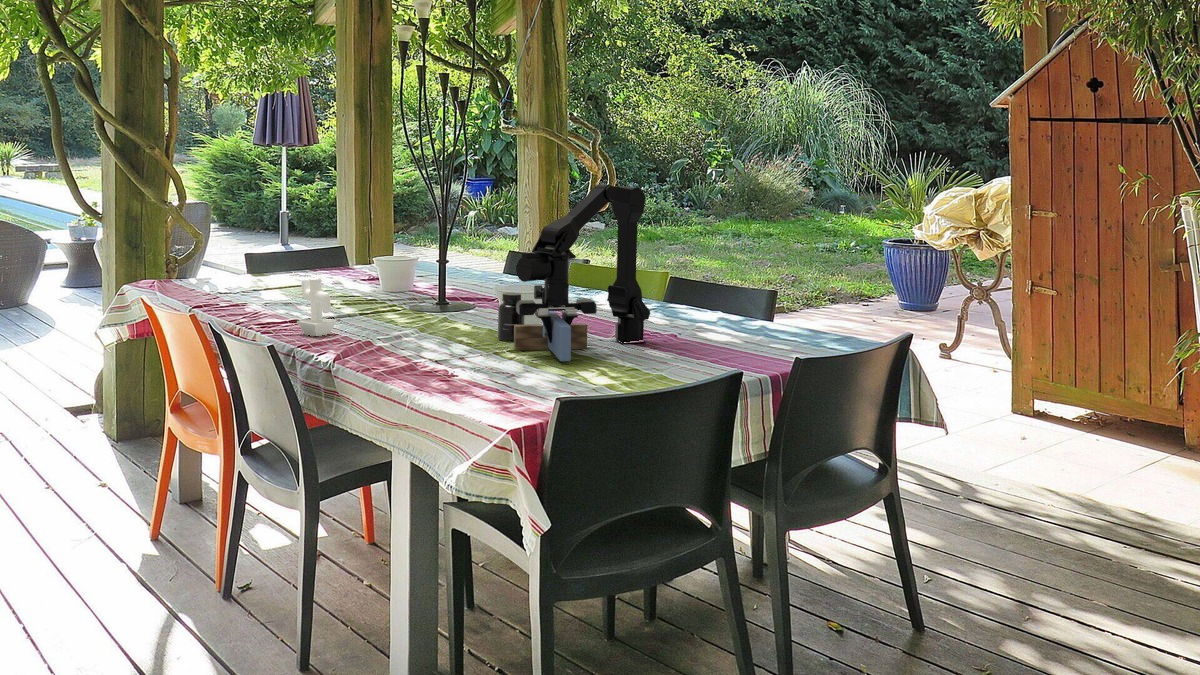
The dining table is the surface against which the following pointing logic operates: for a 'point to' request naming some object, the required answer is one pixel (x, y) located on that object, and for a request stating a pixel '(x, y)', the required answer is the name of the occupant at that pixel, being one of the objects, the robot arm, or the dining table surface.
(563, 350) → the slate blue tapered plate
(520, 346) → the walnut slotted board
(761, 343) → the dining table surface
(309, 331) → the figurine
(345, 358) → the dining table surface
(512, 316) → the supplement bottle
